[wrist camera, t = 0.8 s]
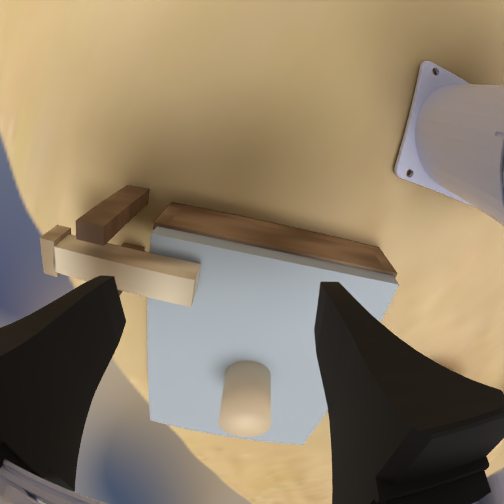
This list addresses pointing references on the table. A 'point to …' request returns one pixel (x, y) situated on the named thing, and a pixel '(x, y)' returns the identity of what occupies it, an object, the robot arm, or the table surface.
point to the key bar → (120, 267)
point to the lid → (246, 339)
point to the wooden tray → (226, 231)
